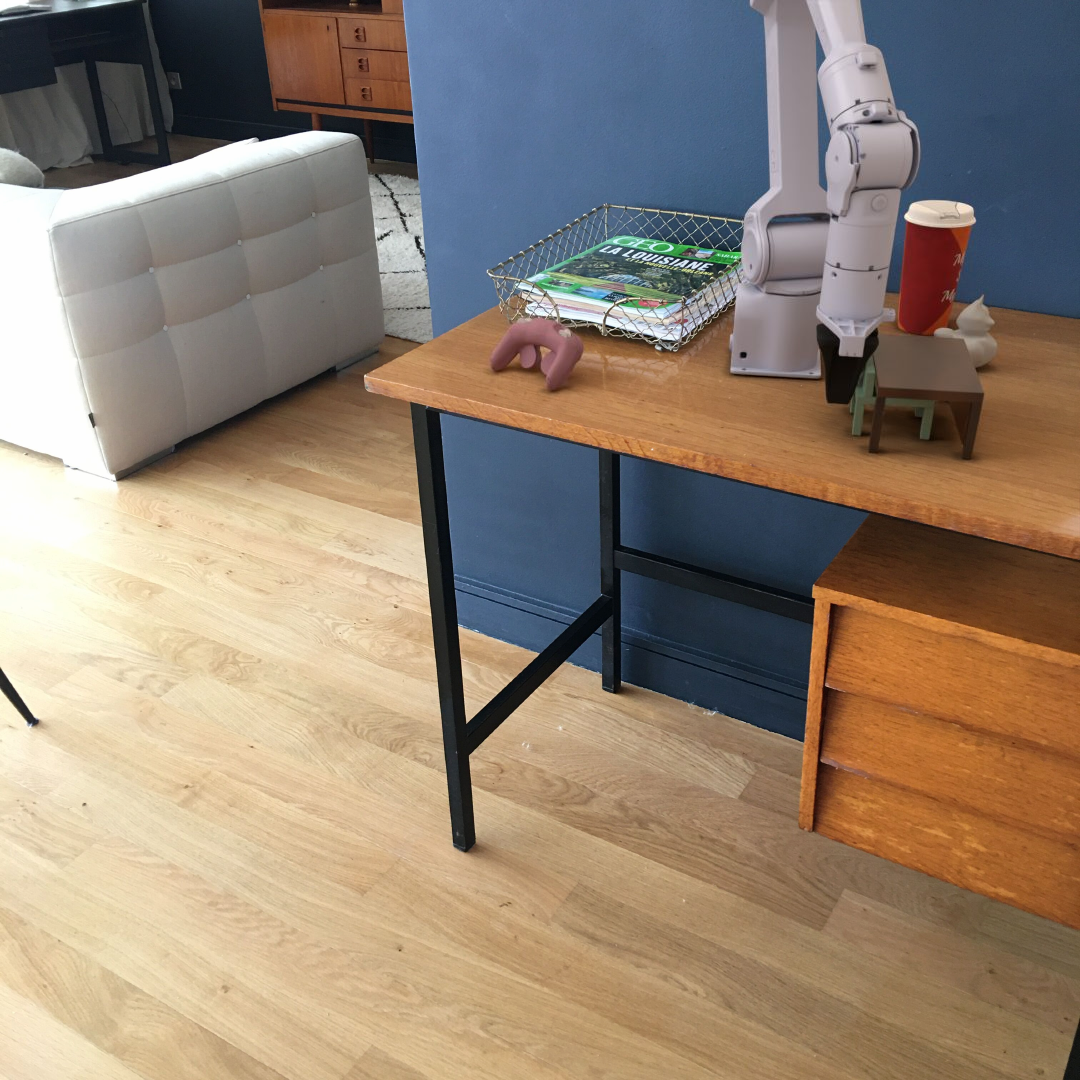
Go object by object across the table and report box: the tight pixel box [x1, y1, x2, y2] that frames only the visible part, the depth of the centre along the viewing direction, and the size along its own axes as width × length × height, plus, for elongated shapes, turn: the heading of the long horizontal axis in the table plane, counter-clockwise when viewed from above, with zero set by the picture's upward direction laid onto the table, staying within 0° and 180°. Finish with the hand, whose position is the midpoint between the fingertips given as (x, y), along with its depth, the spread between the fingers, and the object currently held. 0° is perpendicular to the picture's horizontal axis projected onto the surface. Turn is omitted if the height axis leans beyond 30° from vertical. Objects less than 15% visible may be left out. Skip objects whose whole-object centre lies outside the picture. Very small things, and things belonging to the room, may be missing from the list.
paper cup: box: [897, 199, 977, 336], centre depth 126 cm, size 8×8×14 cm
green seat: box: [849, 354, 936, 440], centre depth 104 cm, size 7×6×6 cm
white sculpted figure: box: [933, 293, 998, 369], centre depth 117 cm, size 5×7×8 cm
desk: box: [867, 333, 985, 460], centre depth 104 cm, size 9×14×6 cm, turn 169°
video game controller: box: [489, 317, 584, 391], centre depth 118 cm, size 10×5×7 cm, turn 47°
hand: (837, 401), depth 106 cm, fingers closed, pressing on green seat
